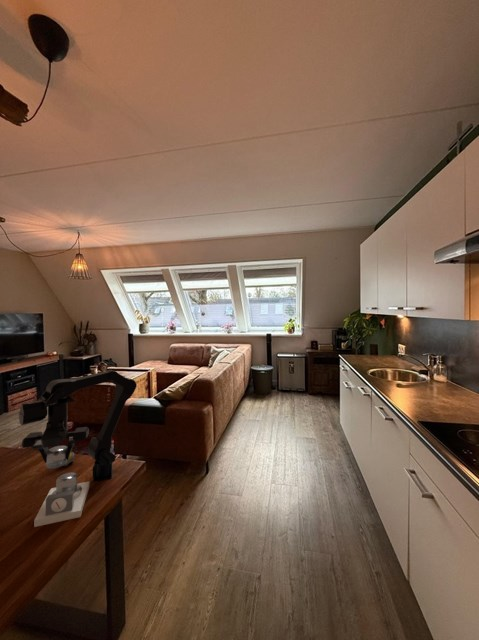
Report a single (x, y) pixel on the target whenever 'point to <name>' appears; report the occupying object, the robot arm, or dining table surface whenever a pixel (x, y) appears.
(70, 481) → the silver round piece
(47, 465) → the silver flared knob
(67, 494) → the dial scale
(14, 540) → the dining table surface
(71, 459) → the yellow spiral cone
